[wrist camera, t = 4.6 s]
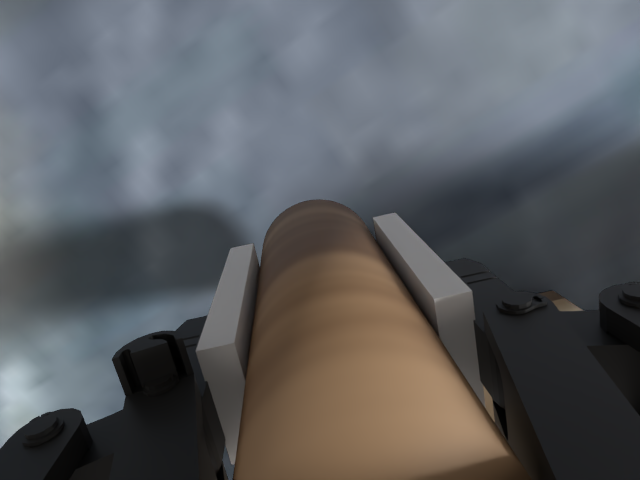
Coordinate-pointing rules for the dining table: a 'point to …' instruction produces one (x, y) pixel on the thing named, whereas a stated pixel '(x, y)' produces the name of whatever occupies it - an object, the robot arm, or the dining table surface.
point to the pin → (353, 368)
